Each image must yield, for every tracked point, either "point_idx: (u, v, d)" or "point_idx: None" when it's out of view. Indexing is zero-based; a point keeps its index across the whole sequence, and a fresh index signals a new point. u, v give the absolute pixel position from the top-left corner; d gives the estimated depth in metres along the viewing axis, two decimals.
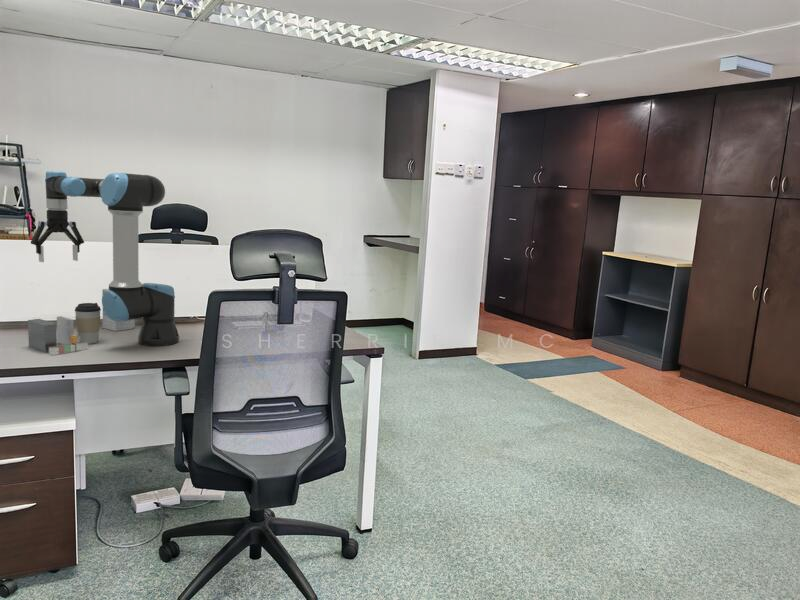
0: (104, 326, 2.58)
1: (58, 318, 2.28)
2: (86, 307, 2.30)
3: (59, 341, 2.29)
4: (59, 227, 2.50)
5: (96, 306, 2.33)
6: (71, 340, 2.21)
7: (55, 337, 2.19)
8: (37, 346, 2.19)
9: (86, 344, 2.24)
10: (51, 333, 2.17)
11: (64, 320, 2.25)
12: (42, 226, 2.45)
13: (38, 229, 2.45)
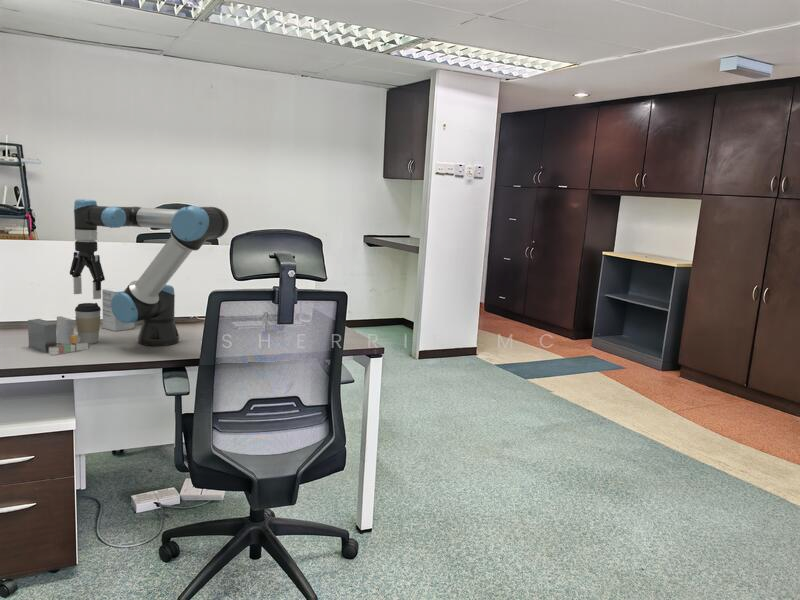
0: (104, 326, 2.58)
1: (58, 318, 2.28)
2: (86, 307, 2.30)
3: (59, 341, 2.29)
4: None
5: (96, 306, 2.33)
6: (71, 340, 2.21)
7: (55, 337, 2.19)
8: (37, 346, 2.19)
9: (86, 344, 2.24)
10: (51, 333, 2.17)
11: (64, 320, 2.25)
12: (74, 257, 2.33)
13: None
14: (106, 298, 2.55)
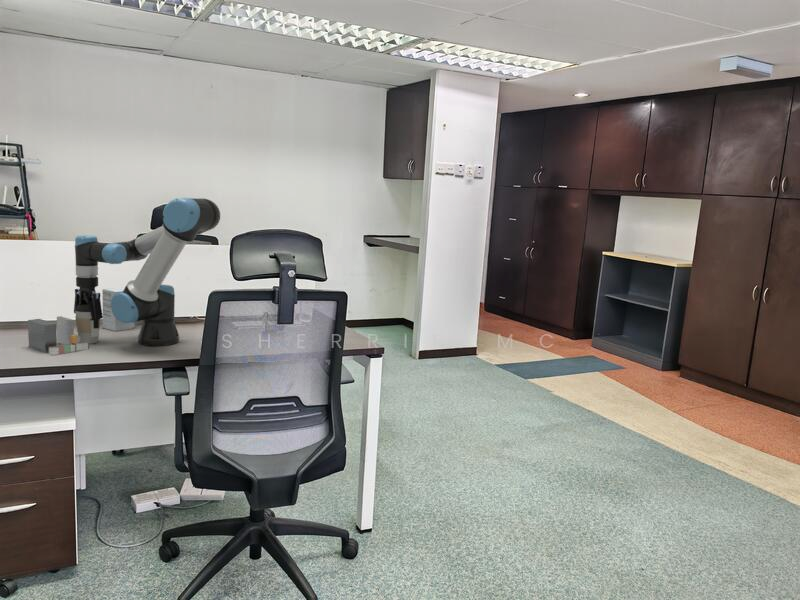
0: (104, 326, 2.58)
1: (58, 318, 2.28)
2: (86, 307, 2.30)
3: (59, 341, 2.29)
4: None
5: None
6: (71, 340, 2.21)
7: (55, 337, 2.19)
8: (37, 346, 2.19)
9: (86, 344, 2.24)
10: (51, 333, 2.17)
11: (64, 320, 2.25)
12: (75, 294, 2.35)
13: None
14: (106, 298, 2.55)
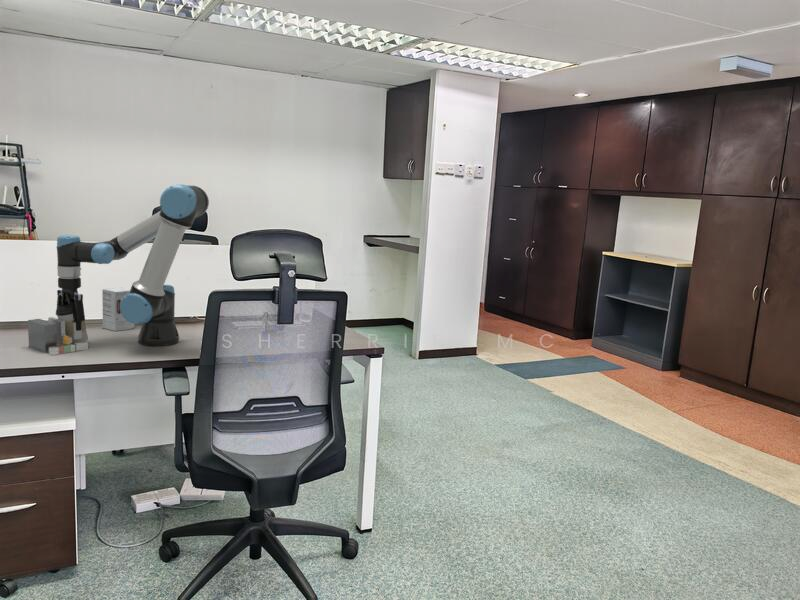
0: (104, 326, 2.58)
1: (50, 319, 2.25)
2: (66, 310, 2.24)
3: None
4: None
5: None
6: (64, 341, 2.19)
7: (55, 337, 2.19)
8: (37, 346, 2.19)
9: (86, 344, 2.24)
10: (51, 333, 2.17)
11: (56, 321, 2.23)
12: (58, 295, 2.30)
13: None
14: (106, 298, 2.55)
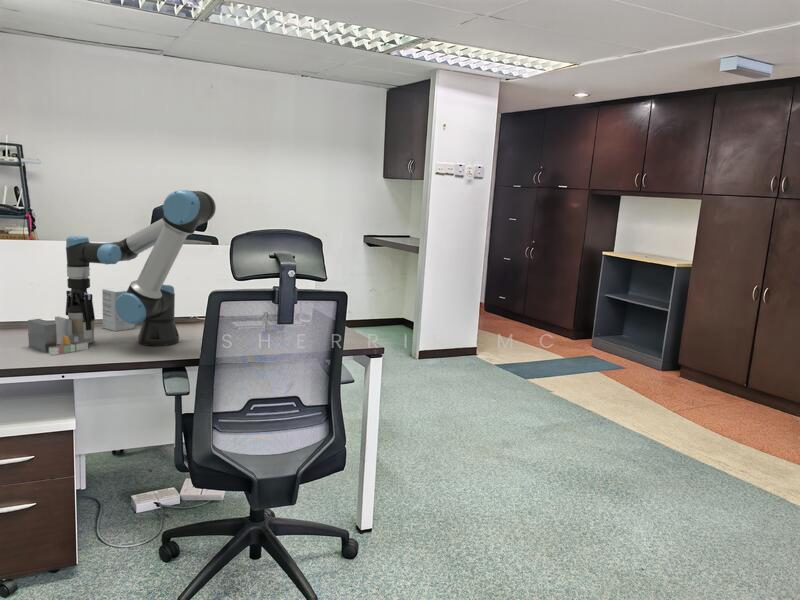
0: (104, 326, 2.58)
1: (56, 318, 2.27)
2: (77, 308, 2.27)
3: (57, 341, 2.29)
4: None
5: None
6: (63, 341, 2.19)
7: (55, 337, 2.19)
8: (37, 346, 2.19)
9: (86, 344, 2.24)
10: (51, 333, 2.17)
11: (62, 320, 2.25)
12: (67, 295, 2.32)
13: None
14: (106, 298, 2.55)
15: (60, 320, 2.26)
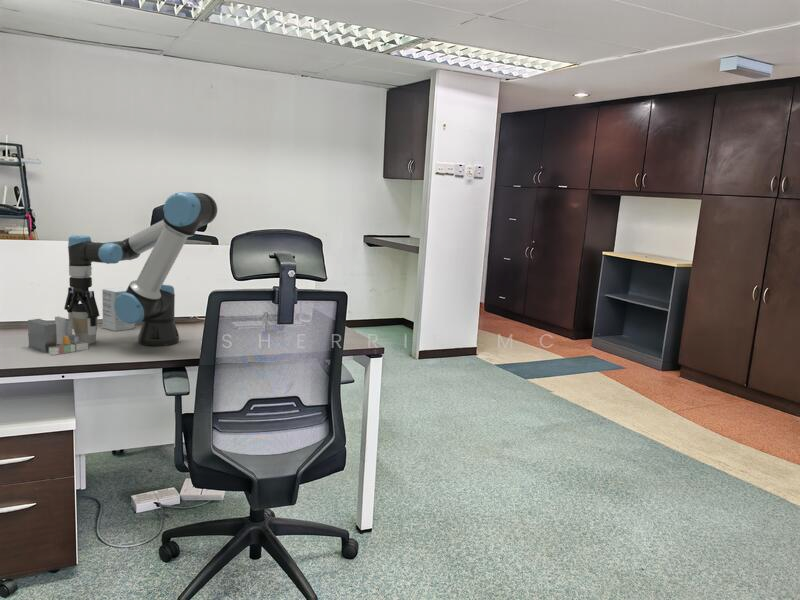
0: (104, 326, 2.58)
1: (56, 318, 2.27)
2: (82, 307, 2.29)
3: (57, 341, 2.29)
4: None
5: None
6: (63, 341, 2.19)
7: (55, 337, 2.19)
8: (37, 346, 2.19)
9: (86, 344, 2.24)
10: (51, 333, 2.17)
11: (62, 320, 2.25)
12: (68, 292, 2.33)
13: None
14: (106, 298, 2.55)
15: (60, 320, 2.26)
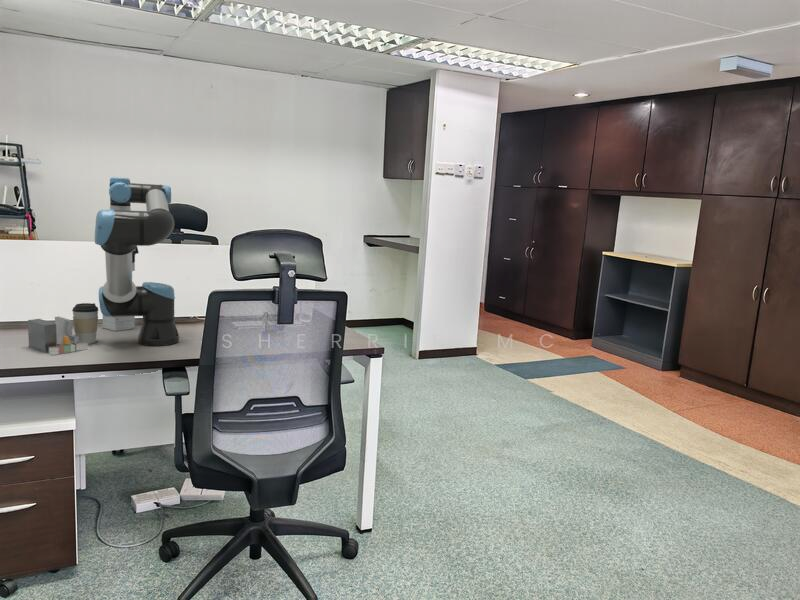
0: (104, 326, 2.58)
1: (56, 318, 2.27)
2: (83, 307, 2.29)
3: (57, 341, 2.29)
4: None
5: (93, 306, 2.32)
6: (63, 341, 2.19)
7: (55, 337, 2.19)
8: (37, 346, 2.19)
9: (86, 344, 2.24)
10: (51, 333, 2.17)
11: (62, 320, 2.25)
12: None
13: None
14: None
15: (60, 320, 2.26)
